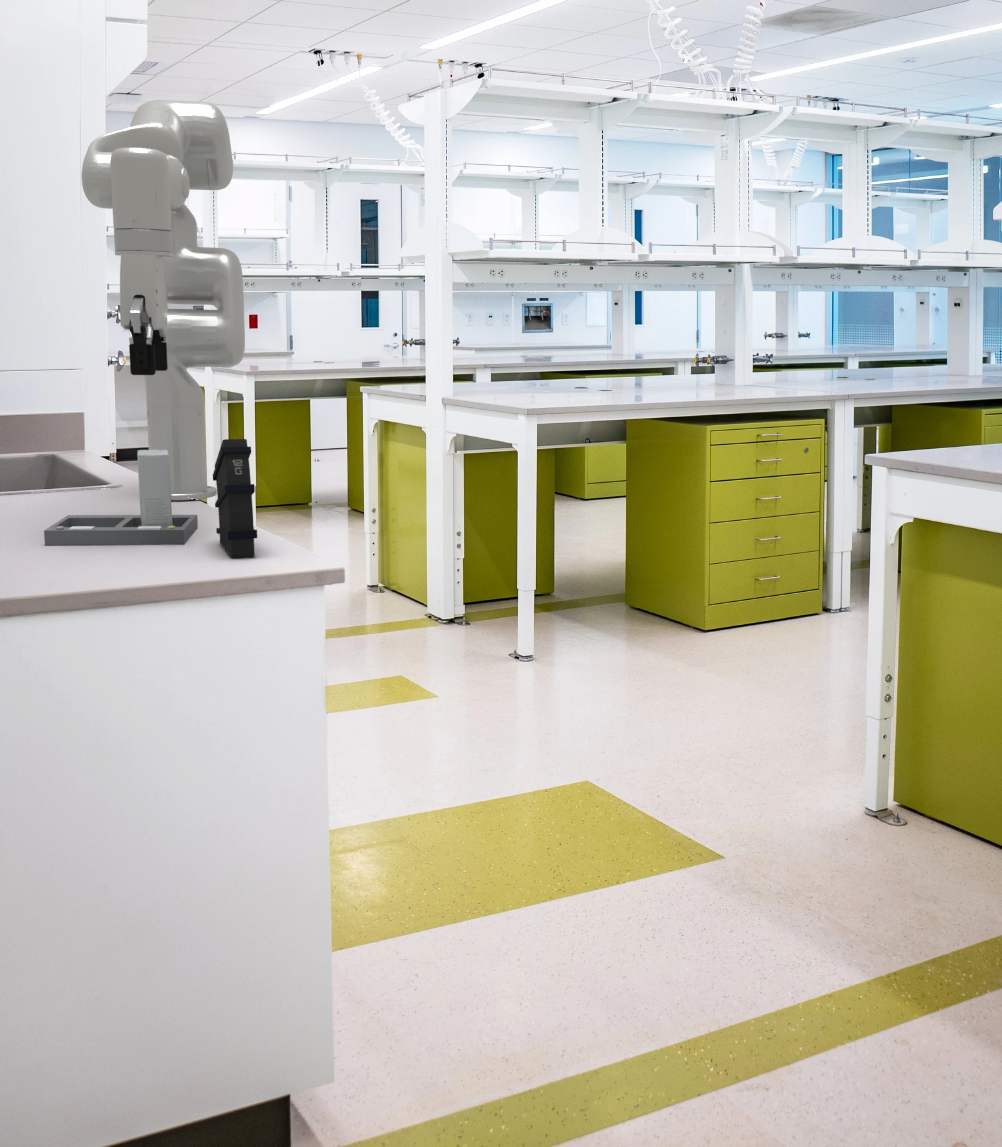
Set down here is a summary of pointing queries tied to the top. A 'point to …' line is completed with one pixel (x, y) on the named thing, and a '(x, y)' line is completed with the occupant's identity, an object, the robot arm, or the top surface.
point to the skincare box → (154, 488)
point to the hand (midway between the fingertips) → (149, 372)
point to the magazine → (235, 498)
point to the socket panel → (118, 530)
